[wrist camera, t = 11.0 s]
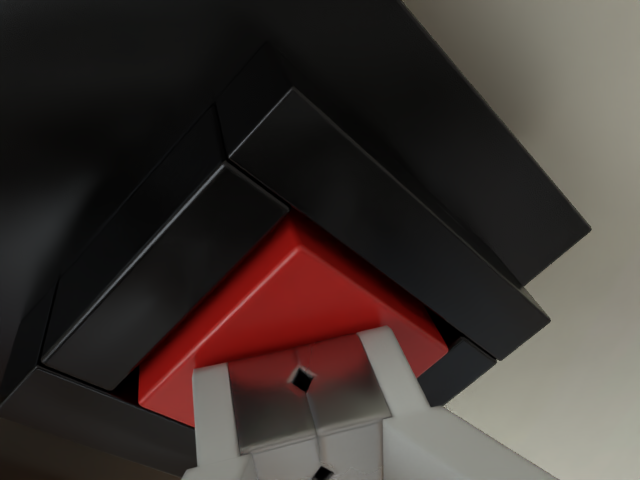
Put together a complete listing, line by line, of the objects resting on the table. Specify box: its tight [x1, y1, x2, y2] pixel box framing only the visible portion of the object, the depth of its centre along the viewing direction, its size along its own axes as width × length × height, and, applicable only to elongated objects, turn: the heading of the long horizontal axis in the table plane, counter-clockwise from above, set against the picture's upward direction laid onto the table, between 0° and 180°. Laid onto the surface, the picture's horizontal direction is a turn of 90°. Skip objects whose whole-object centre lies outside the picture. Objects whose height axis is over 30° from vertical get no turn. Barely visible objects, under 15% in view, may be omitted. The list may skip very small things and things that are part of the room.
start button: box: [138, 206, 448, 428], centre depth 10 cm, size 4×4×2 cm
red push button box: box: [0, 0, 592, 478], centre depth 10 cm, size 15×10×6 cm, turn 45°
